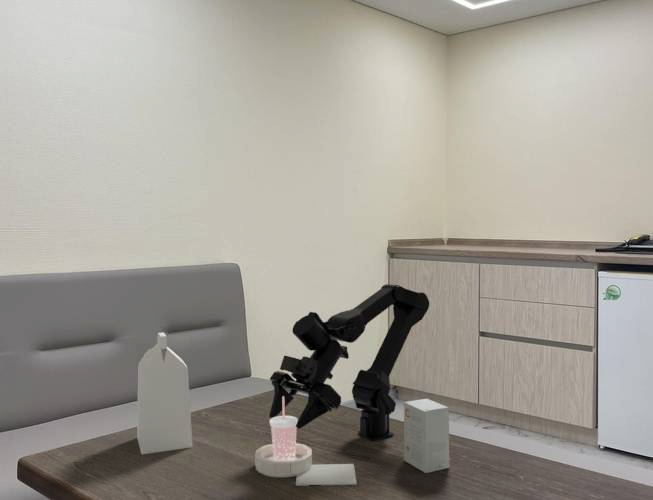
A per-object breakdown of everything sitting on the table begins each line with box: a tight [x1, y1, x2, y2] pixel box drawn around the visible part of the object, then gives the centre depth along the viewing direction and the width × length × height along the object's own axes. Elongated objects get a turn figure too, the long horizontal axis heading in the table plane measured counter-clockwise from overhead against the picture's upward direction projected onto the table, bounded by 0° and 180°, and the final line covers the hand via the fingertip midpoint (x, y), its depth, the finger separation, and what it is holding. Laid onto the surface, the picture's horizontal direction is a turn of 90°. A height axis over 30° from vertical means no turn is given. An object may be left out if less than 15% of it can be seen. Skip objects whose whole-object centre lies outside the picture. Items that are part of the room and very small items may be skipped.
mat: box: [295, 463, 358, 487], centre depth 125 cm, size 12×10×1 cm
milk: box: [136, 332, 193, 455], centre depth 145 cm, size 12×12×26 cm
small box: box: [403, 398, 450, 474], centre depth 130 cm, size 8×6×13 cm
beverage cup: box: [269, 396, 299, 461], centre depth 130 cm, size 6×6×14 cm
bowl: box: [254, 442, 313, 479], centre depth 130 cm, size 12×12×3 cm
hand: (283, 422), depth 130 cm, fingers open, 9 cm apart
